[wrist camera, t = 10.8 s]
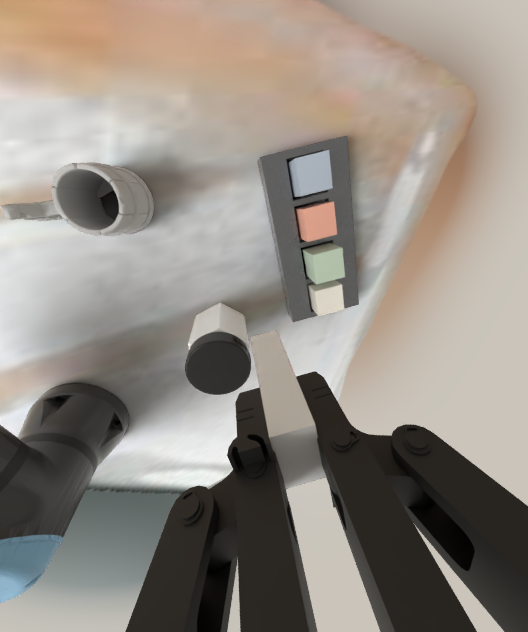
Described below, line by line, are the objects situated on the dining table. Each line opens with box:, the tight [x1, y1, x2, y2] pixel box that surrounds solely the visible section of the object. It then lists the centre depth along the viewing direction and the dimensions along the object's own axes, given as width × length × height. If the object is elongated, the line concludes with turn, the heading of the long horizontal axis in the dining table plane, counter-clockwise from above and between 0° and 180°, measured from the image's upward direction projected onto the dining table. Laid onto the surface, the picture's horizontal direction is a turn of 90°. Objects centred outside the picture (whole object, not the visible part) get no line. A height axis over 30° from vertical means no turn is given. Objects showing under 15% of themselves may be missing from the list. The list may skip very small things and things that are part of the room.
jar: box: [185, 303, 251, 395], centre depth 37 cm, size 9×8×12 cm
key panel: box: [258, 136, 359, 322], centre depth 37 cm, size 11×23×3 cm, turn 13°
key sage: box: [303, 243, 345, 284], centre depth 35 cm, size 4×4×4 cm
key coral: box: [294, 202, 337, 242], centre depth 34 cm, size 4×4×4 cm
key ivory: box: [306, 280, 344, 316], centre depth 38 cm, size 4×4×4 cm
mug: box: [1, 163, 154, 236], centre depth 27 cm, size 8×12×12 cm, turn 99°
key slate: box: [287, 150, 333, 197], centre depth 31 cm, size 4×4×4 cm
